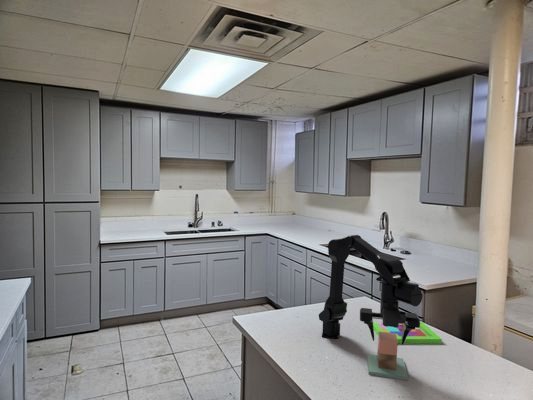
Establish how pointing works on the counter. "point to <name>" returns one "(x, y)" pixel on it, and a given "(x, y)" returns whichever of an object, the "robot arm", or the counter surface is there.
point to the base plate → (374, 370)
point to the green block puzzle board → (410, 333)
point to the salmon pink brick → (387, 343)
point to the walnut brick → (386, 361)
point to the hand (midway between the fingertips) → (387, 342)
